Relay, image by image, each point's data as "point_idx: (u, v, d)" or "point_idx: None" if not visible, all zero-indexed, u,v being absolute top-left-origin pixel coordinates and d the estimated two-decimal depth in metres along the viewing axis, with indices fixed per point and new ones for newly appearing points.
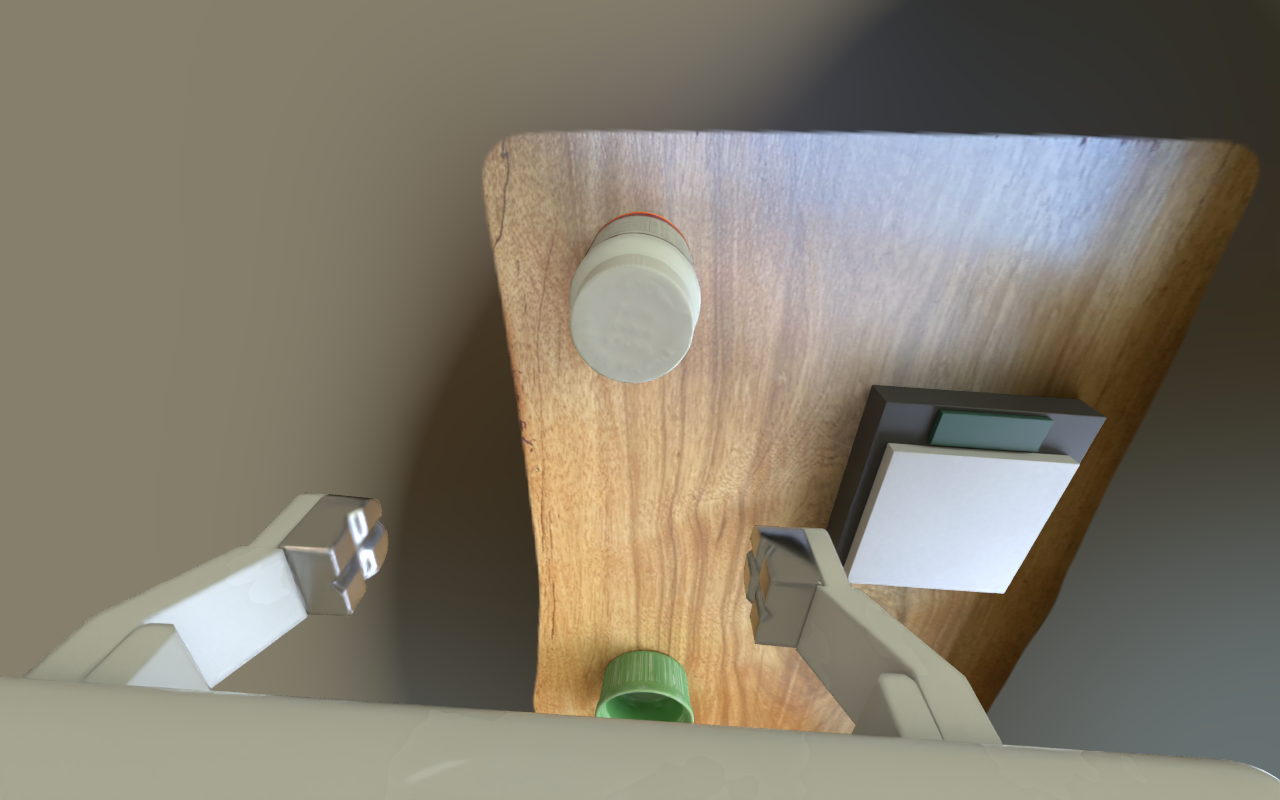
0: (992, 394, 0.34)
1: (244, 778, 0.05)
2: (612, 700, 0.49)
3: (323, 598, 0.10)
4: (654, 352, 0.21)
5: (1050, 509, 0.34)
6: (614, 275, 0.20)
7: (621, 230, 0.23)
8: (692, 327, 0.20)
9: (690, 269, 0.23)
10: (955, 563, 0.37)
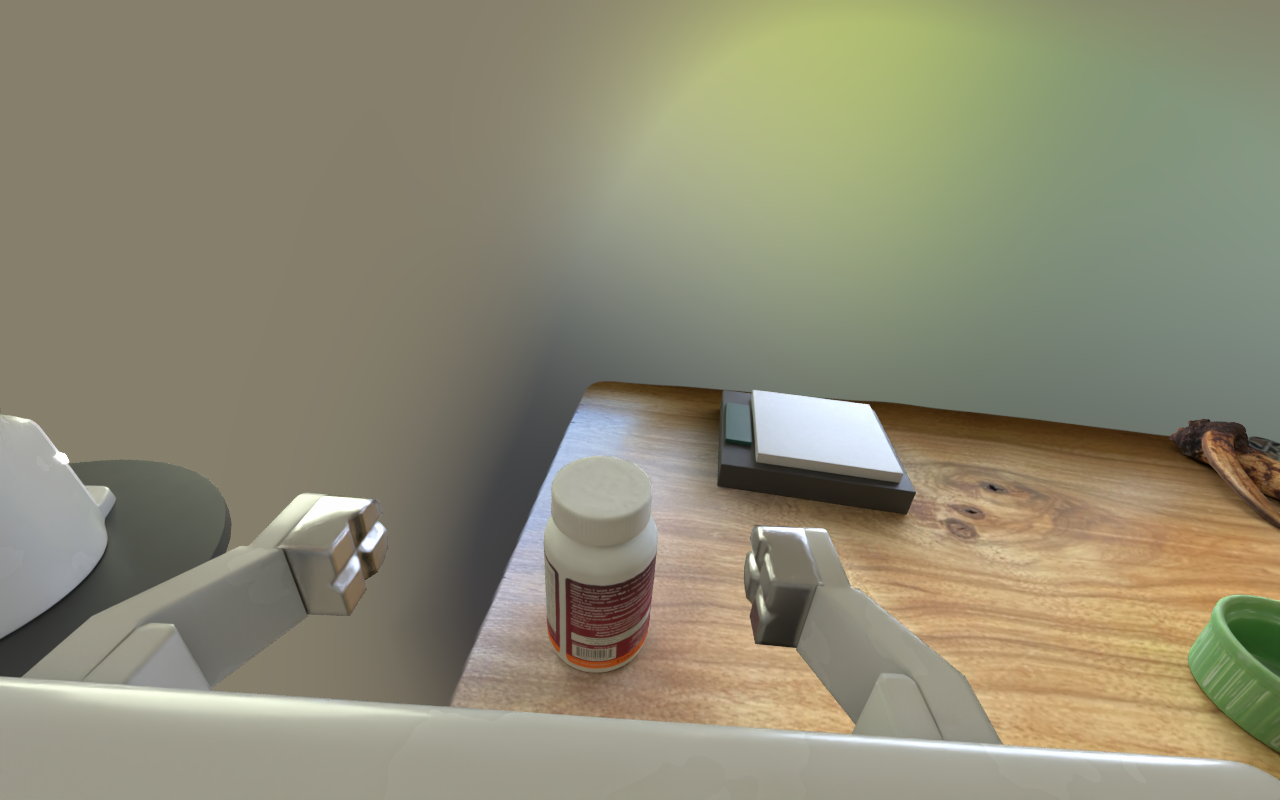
0: (719, 435, 0.51)
1: (244, 778, 0.05)
2: None
3: (323, 598, 0.10)
4: (625, 475, 0.26)
5: (789, 395, 0.53)
6: (558, 487, 0.25)
7: None
8: (608, 456, 0.28)
9: None
10: (851, 424, 0.49)
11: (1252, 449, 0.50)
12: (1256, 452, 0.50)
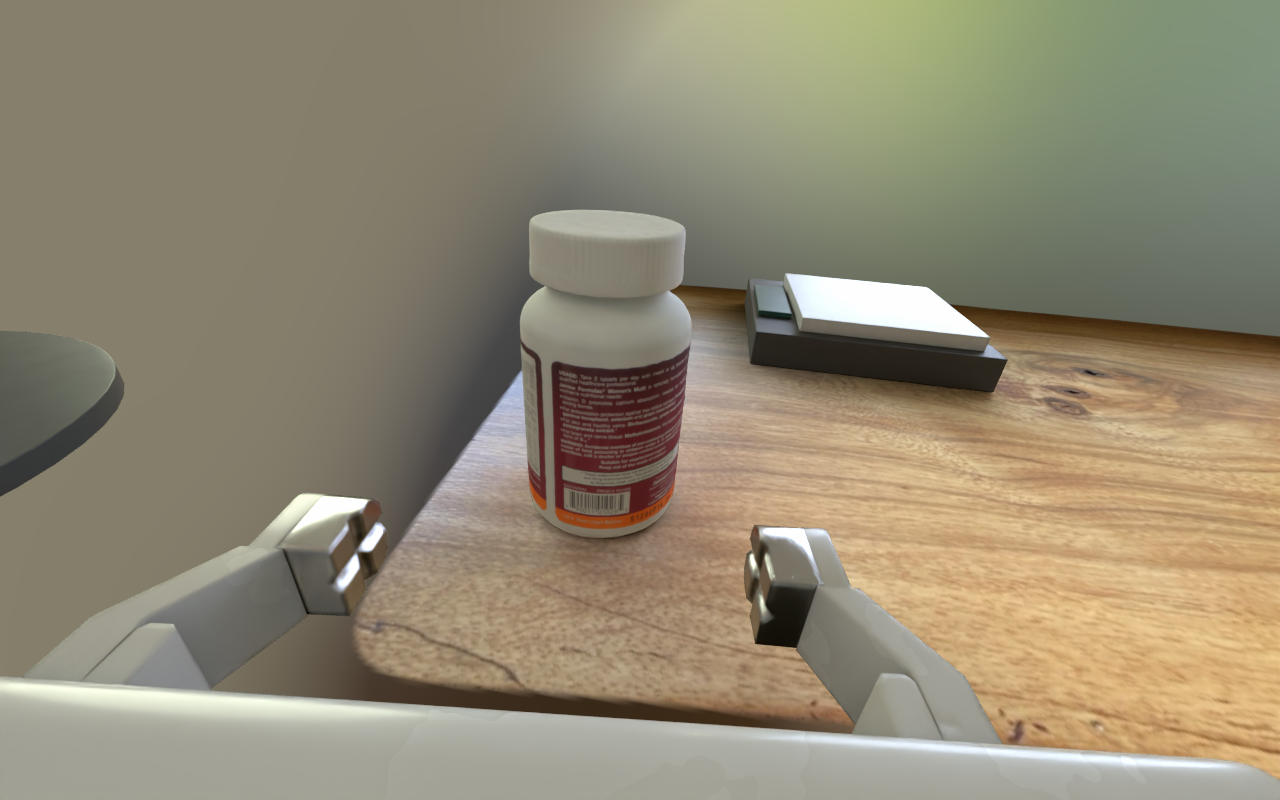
0: (747, 322, 0.42)
1: (244, 778, 0.05)
2: None
3: (323, 598, 0.10)
4: (643, 221, 0.17)
5: (829, 278, 0.44)
6: (538, 220, 0.16)
7: None
8: None
9: None
10: (911, 300, 0.40)
11: None
12: None
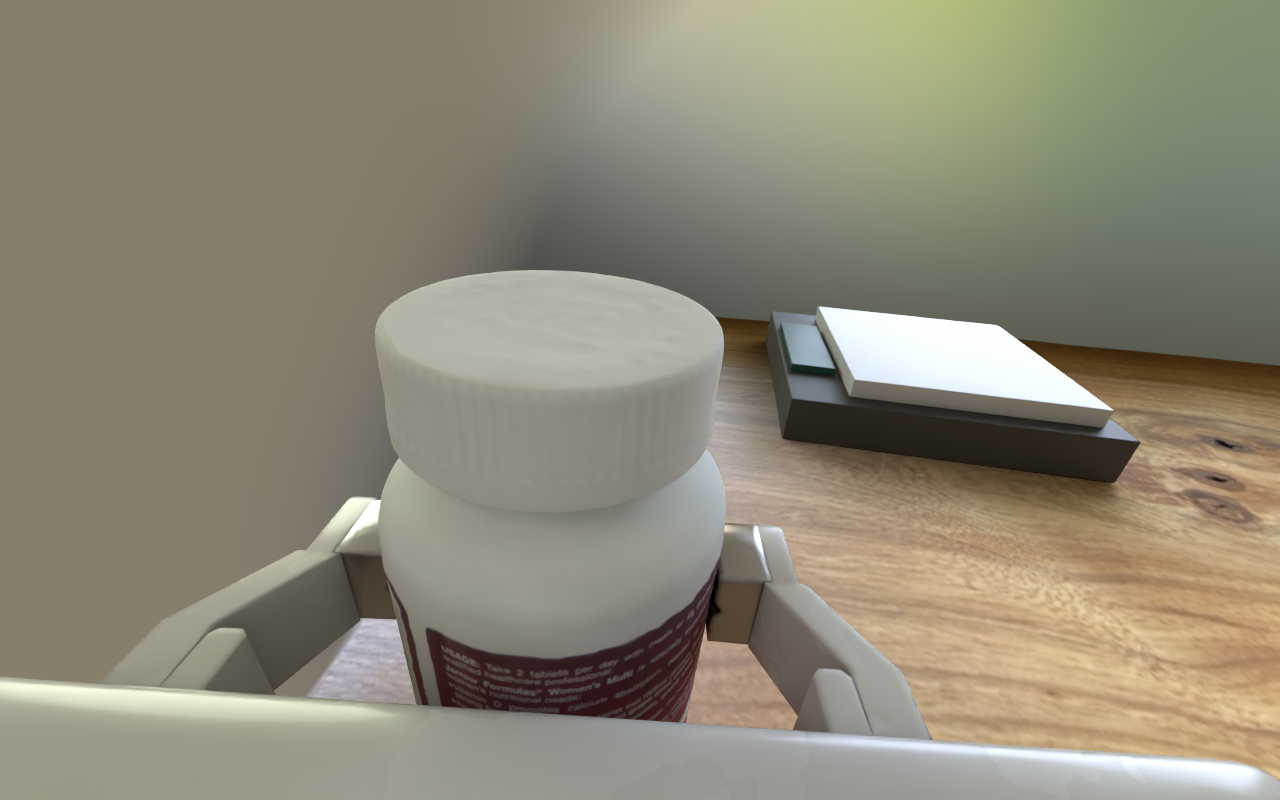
0: (771, 370, 0.33)
1: (244, 778, 0.05)
2: None
3: (377, 602, 0.10)
4: (634, 303, 0.09)
5: (874, 313, 0.35)
6: (401, 312, 0.07)
7: None
8: (585, 273, 0.10)
9: None
10: (986, 346, 0.31)
11: None
12: None
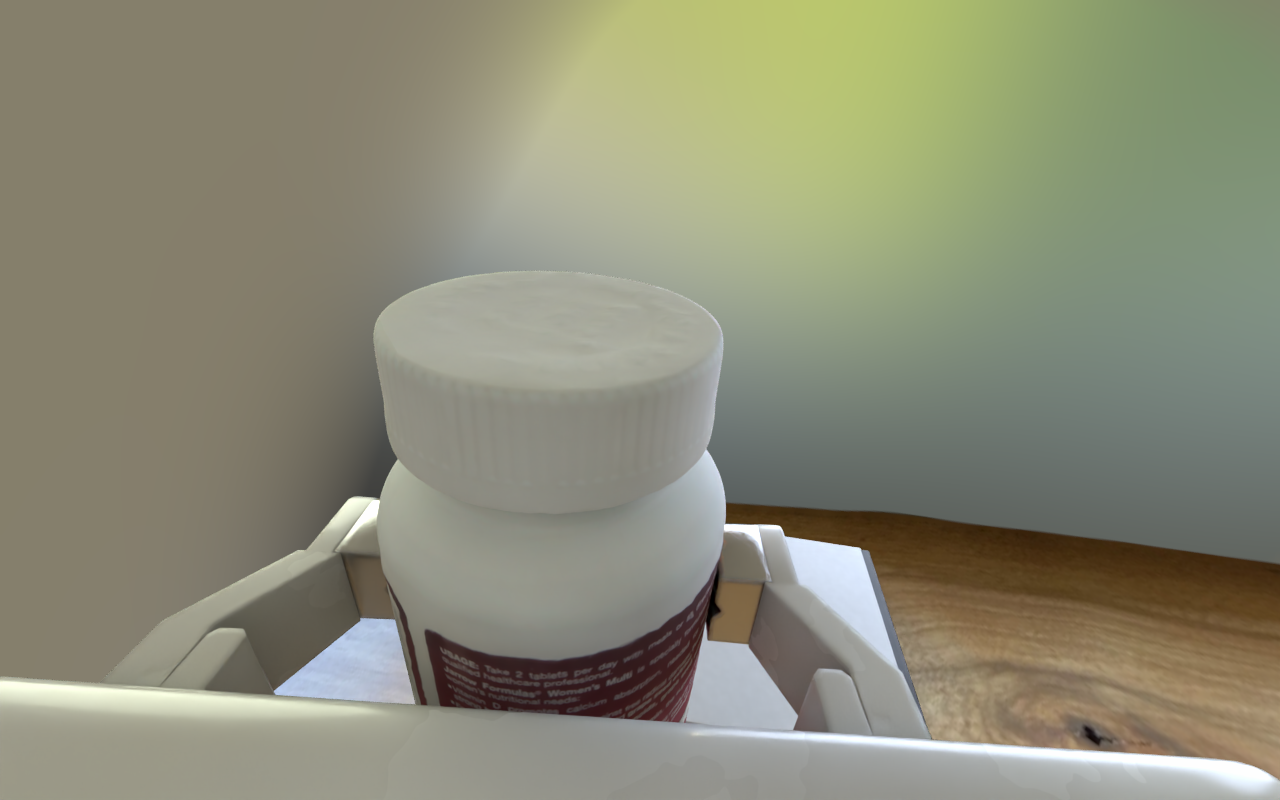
0: None
1: (244, 778, 0.05)
2: None
3: (377, 602, 0.10)
4: (633, 303, 0.09)
5: None
6: (400, 312, 0.07)
7: None
8: (585, 274, 0.10)
9: None
10: None
11: None
12: None
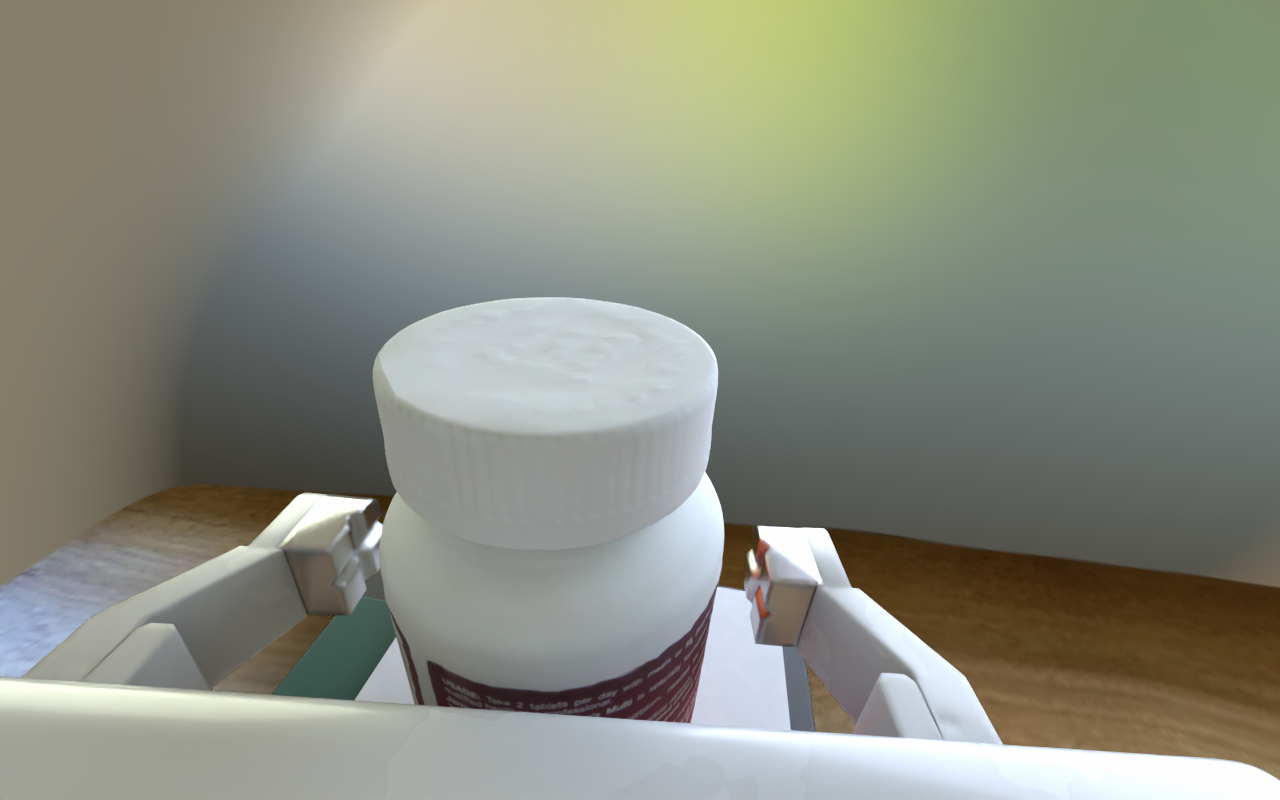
0: None
1: (244, 778, 0.05)
2: None
3: (323, 598, 0.10)
4: (630, 332, 0.09)
5: None
6: (398, 349, 0.07)
7: None
8: (582, 299, 0.10)
9: None
10: None
11: None
12: None
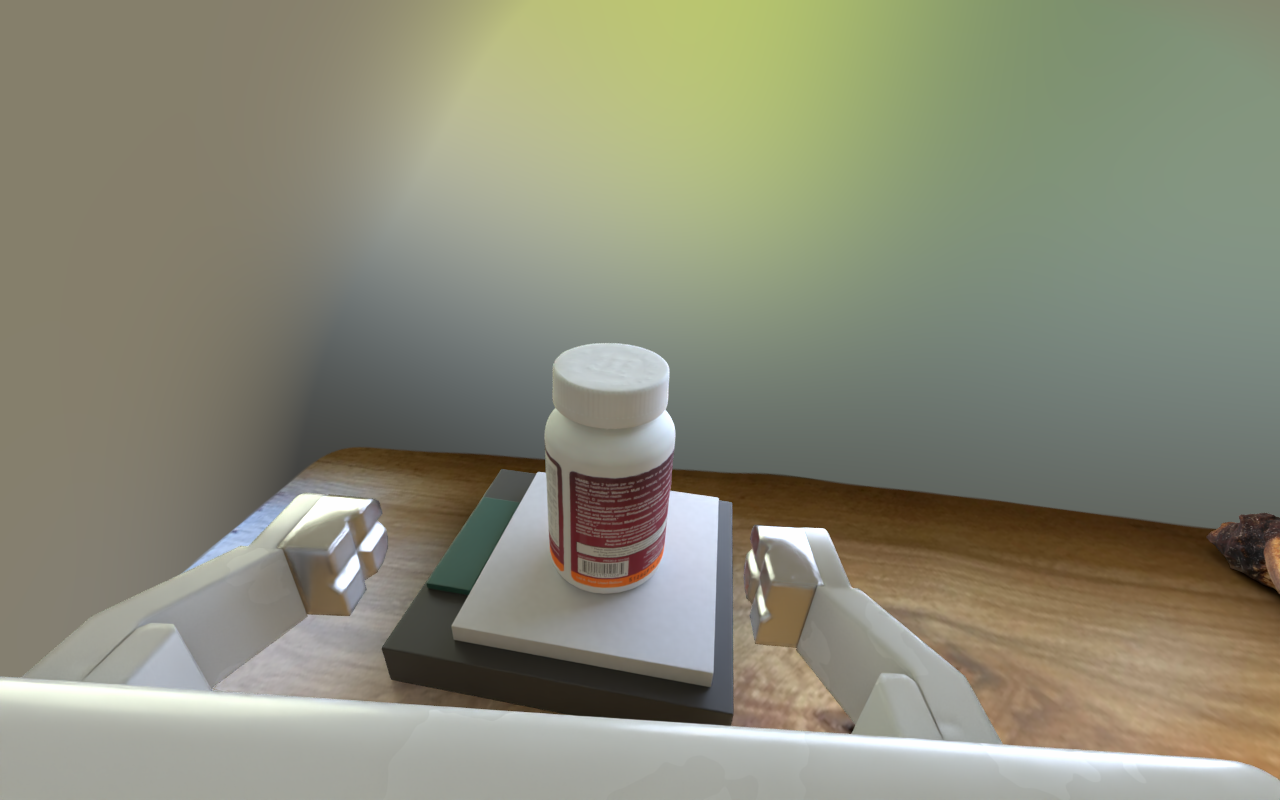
0: None
1: (244, 778, 0.05)
2: None
3: (323, 598, 0.10)
4: (638, 358, 0.23)
5: None
6: (559, 366, 0.22)
7: None
8: None
9: None
10: (668, 543, 0.29)
11: None
12: None
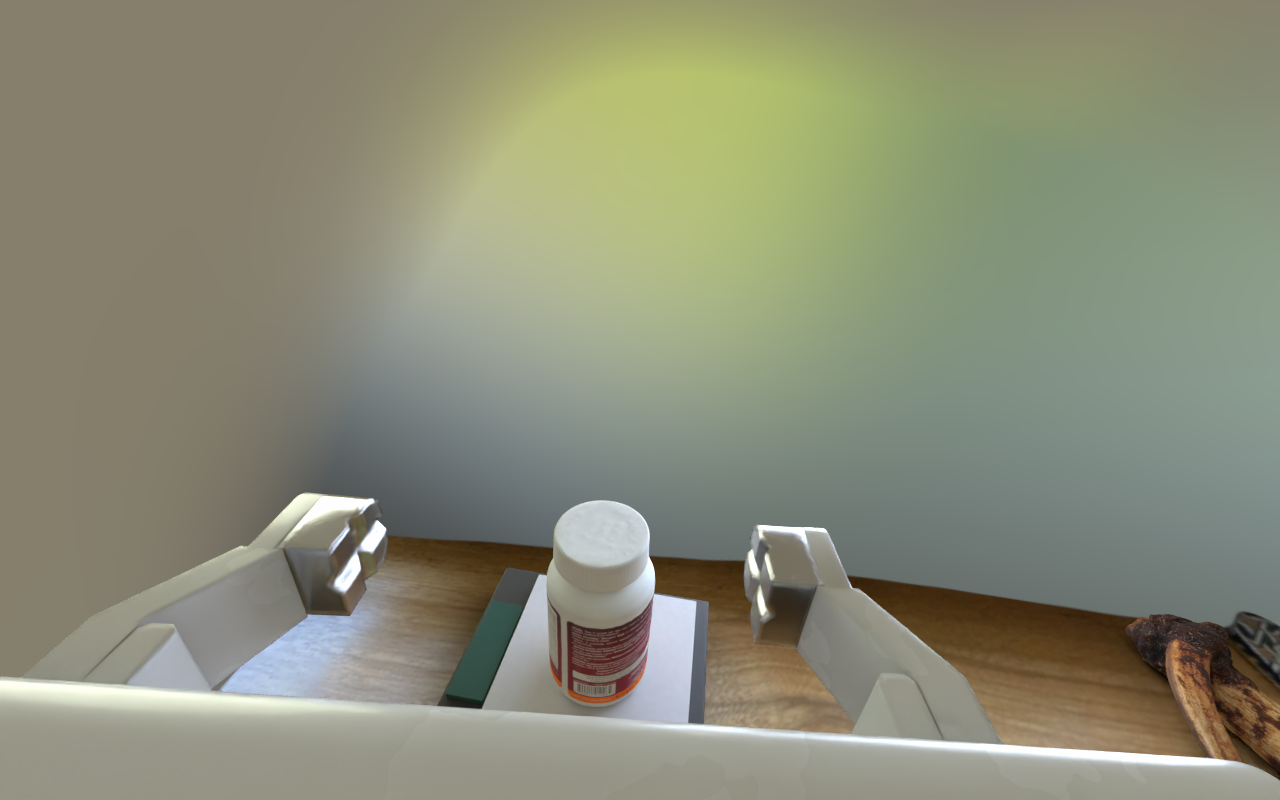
0: None
1: (244, 778, 0.05)
2: None
3: (323, 598, 0.10)
4: (624, 521, 0.28)
5: None
6: (559, 534, 0.27)
7: None
8: (608, 501, 0.29)
9: None
10: (651, 651, 0.33)
11: (1237, 676, 0.35)
12: (1242, 682, 0.35)
